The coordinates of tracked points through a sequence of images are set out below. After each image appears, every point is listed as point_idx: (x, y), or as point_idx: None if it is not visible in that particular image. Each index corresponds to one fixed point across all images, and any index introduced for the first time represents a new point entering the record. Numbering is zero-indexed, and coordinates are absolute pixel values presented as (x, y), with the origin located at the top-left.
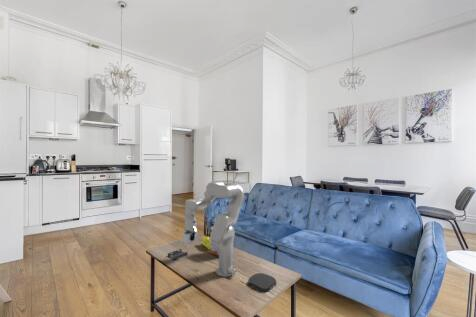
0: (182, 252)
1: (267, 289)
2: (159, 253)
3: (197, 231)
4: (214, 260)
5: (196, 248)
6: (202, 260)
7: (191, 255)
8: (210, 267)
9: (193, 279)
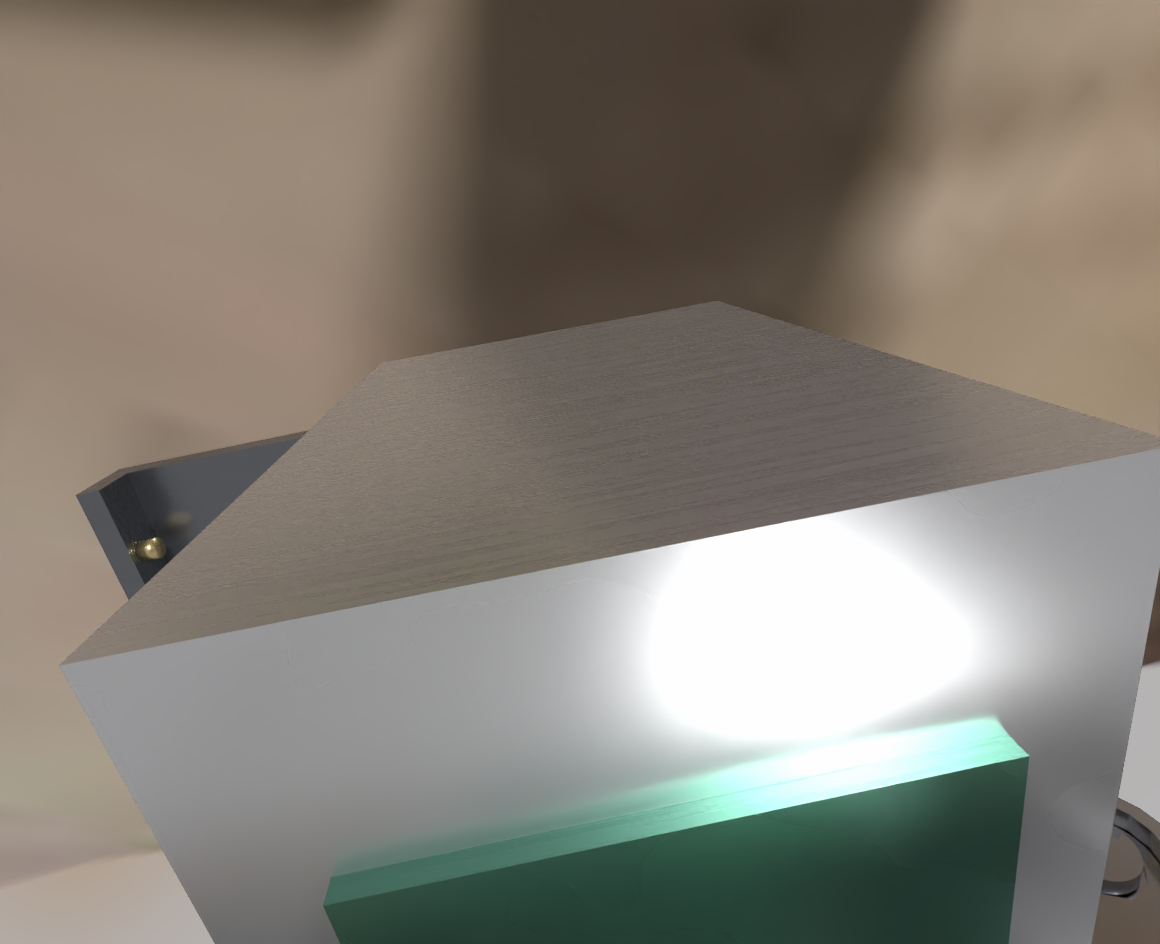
0: (228, 485)
1: None
2: (28, 820)
3: (1135, 547)
4: (987, 24)
5: (53, 14)
6: (803, 263)
7: (442, 351)
8: (1124, 280)
9: (1154, 642)
